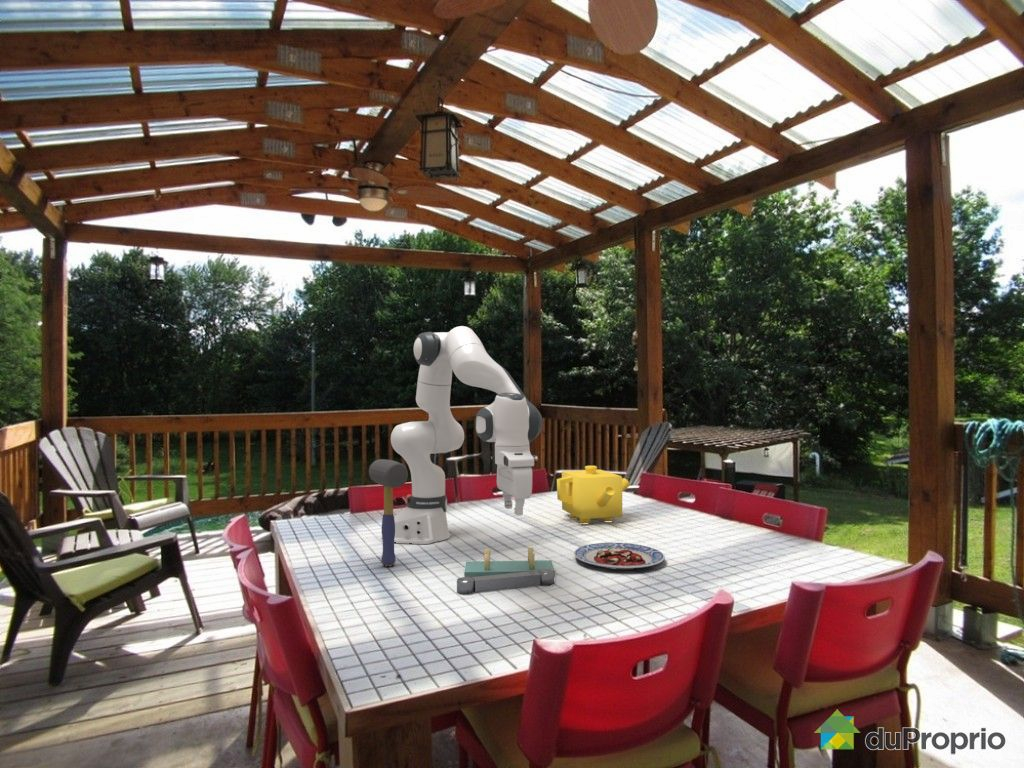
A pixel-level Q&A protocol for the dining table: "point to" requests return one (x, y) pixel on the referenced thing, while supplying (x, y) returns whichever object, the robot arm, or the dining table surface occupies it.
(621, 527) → the dining table surface
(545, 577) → the grey dumbbell
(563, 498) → the yellow teapot
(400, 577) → the dining table surface
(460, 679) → the dining table surface
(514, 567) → the peg rack
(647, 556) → the ceramic plate
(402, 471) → the rubber mallet
